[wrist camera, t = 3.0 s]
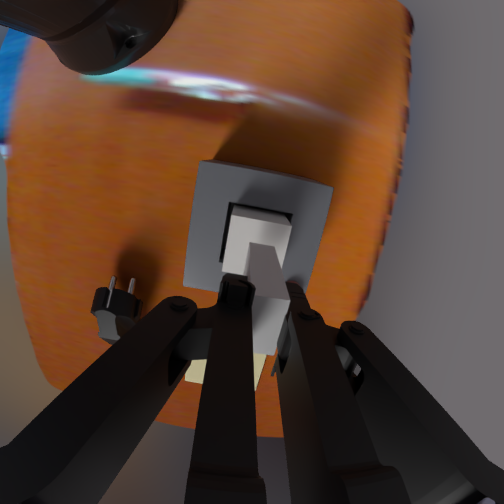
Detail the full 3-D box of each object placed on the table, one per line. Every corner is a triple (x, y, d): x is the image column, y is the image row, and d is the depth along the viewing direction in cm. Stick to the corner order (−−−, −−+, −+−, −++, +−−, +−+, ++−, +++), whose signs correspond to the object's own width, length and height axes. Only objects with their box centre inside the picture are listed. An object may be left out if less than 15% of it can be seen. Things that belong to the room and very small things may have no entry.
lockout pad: (189, 323, 32) (189, 325, 32) (271, 336, 33) (271, 338, 33) (185, 378, 35) (185, 380, 35) (255, 389, 36) (255, 390, 36)
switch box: (212, 159, 26) (198, 161, 18) (311, 179, 27) (336, 188, 19) (197, 254, 29) (181, 289, 22) (289, 270, 30) (302, 308, 22)
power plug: (118, 353, 33) (77, 327, 23) (127, 304, 37) (94, 262, 27) (156, 360, 33) (124, 336, 23) (163, 308, 37) (139, 266, 27)
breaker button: (234, 204, 22) (231, 214, 18) (284, 213, 22) (291, 226, 18) (225, 251, 23) (221, 271, 19) (273, 260, 23) (278, 280, 19)
